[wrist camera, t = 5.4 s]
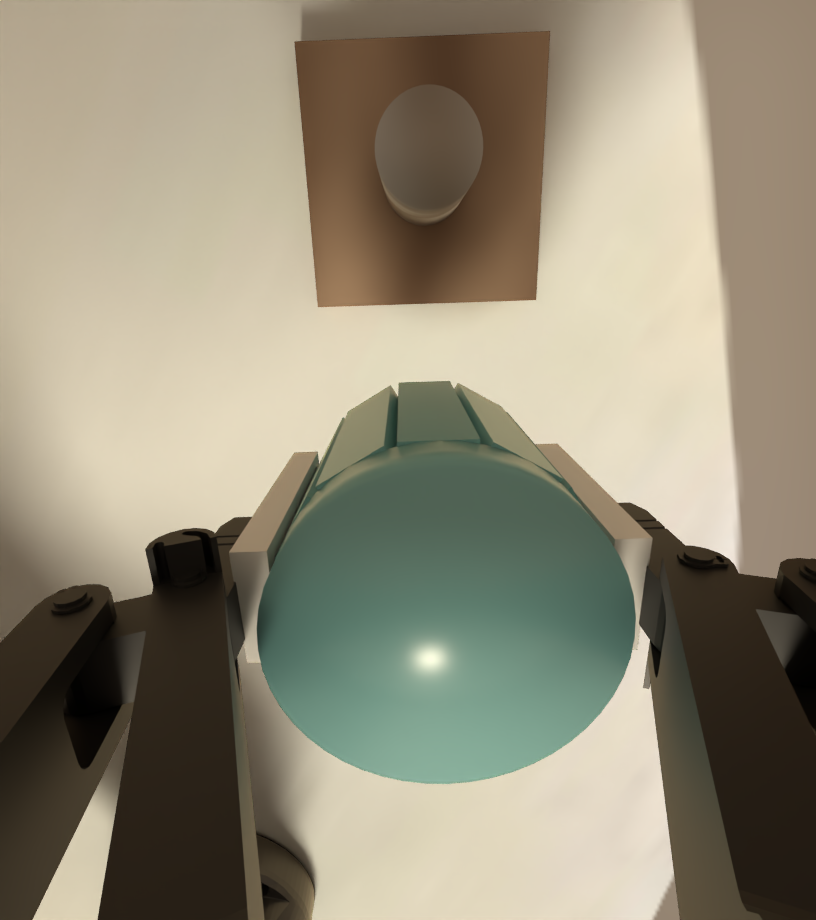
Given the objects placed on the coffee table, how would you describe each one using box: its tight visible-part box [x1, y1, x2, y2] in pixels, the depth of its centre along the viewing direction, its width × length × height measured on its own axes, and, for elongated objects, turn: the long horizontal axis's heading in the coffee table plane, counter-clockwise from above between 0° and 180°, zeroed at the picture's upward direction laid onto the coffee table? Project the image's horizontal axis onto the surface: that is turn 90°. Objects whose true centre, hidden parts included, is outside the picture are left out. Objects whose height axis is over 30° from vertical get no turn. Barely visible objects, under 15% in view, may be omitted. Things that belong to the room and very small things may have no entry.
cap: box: [257, 381, 636, 784], centre depth 13 cm, size 7×7×8 cm
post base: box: [295, 31, 550, 307], centre depth 19 cm, size 10×10×7 cm
